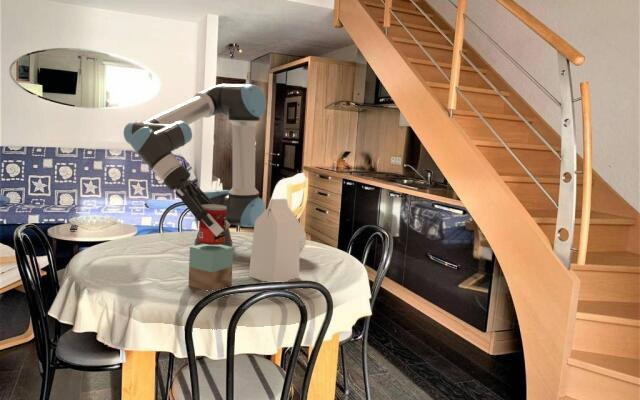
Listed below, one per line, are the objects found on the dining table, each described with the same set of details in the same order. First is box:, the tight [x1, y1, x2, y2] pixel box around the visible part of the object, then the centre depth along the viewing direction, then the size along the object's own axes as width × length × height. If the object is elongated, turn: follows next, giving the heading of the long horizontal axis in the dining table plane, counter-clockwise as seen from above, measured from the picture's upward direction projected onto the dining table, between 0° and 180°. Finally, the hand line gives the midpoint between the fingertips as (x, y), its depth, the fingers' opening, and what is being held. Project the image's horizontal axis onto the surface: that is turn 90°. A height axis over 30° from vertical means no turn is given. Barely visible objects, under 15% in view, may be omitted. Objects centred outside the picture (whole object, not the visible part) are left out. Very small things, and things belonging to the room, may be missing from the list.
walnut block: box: [187, 266, 233, 292], centre depth 146 cm, size 9×9×6 cm
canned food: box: [198, 204, 227, 245], centre depth 144 cm, size 8×8×11 cm
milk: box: [248, 198, 301, 282], centre depth 158 cm, size 12×12×26 cm
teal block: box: [188, 244, 234, 272], centre depth 145 cm, size 9×9×6 cm
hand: (223, 230), depth 144 cm, fingers open, 8 cm apart
